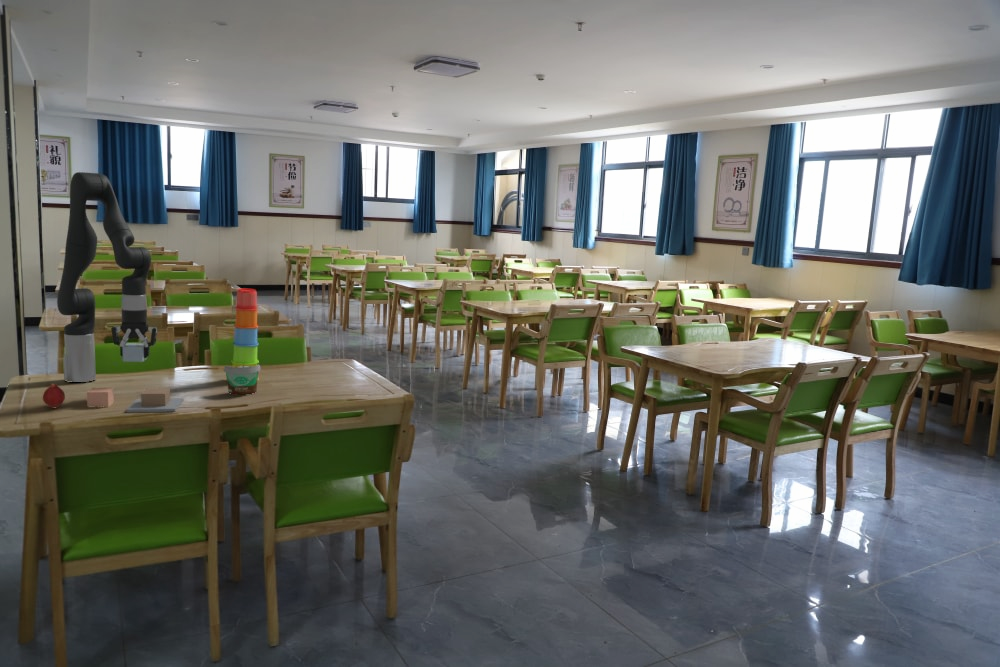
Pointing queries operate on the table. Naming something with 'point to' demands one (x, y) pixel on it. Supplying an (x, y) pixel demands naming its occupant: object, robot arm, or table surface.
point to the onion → (53, 396)
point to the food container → (242, 379)
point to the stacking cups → (246, 329)
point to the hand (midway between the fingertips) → (135, 357)
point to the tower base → (155, 408)
